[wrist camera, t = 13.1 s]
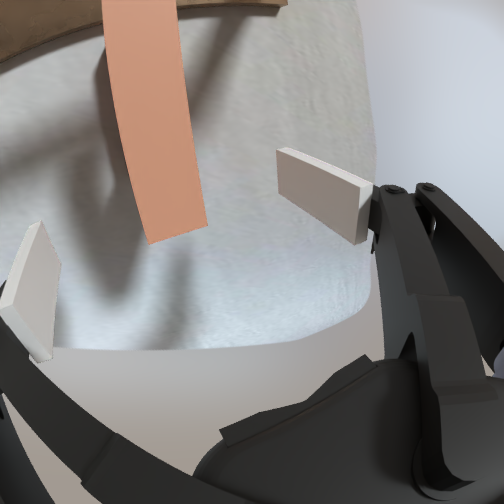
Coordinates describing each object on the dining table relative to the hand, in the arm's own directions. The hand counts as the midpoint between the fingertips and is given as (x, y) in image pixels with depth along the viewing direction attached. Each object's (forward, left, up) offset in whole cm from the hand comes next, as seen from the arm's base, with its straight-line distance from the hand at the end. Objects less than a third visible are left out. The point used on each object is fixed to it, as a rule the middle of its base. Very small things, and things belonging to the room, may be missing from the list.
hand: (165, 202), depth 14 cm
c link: (-2, +4, -10) cm, 11 cm away
